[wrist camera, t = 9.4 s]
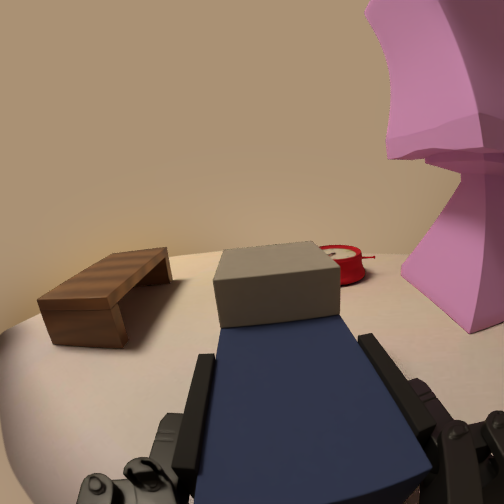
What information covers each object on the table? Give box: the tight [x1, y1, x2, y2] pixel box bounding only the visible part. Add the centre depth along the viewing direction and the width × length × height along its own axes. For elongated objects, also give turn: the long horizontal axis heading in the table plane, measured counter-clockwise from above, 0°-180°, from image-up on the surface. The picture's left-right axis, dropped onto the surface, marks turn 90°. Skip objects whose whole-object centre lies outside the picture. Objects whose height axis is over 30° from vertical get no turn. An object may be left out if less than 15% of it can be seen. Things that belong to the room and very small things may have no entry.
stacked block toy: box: [194, 241, 432, 504], centre depth 14 cm, size 20×8×10 cm, turn 1°
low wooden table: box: [37, 247, 173, 348], centre depth 38 cm, size 24×12×6 cm, turn 1°
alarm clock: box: [319, 245, 375, 285], centre depth 43 cm, size 10×6×15 cm
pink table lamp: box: [364, 0, 504, 334], centre depth 24 cm, size 22×22×45 cm
